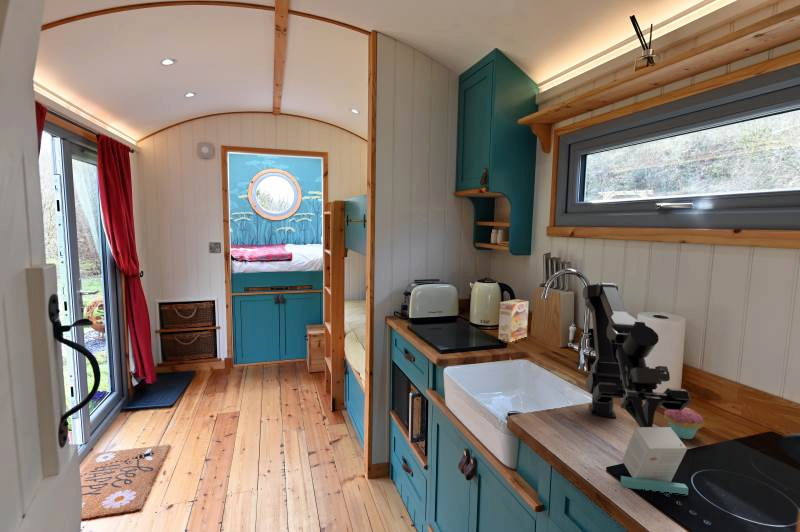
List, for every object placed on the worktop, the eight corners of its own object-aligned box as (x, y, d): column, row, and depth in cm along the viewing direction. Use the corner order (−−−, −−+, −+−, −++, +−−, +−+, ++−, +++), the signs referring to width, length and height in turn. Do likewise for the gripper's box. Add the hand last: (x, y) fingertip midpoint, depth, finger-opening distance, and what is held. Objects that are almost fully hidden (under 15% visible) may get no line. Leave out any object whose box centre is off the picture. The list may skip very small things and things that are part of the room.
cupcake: (684, 444, 101) (688, 398, 100) (654, 428, 109) (657, 385, 108) (710, 440, 104) (714, 395, 103) (679, 425, 112) (682, 382, 111)
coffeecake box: (510, 345, 187) (512, 304, 186) (497, 342, 193) (499, 301, 191) (527, 340, 197) (529, 300, 196) (514, 337, 203) (516, 298, 201)
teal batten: (620, 482, 85) (621, 476, 85) (684, 490, 83) (684, 484, 83) (623, 487, 84) (623, 480, 84) (687, 495, 81) (688, 488, 81)
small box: (655, 459, 91) (671, 426, 86) (671, 482, 86) (688, 448, 81) (620, 459, 90) (634, 426, 86) (634, 483, 85) (649, 448, 81)
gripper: (599, 348, 93) (611, 415, 83) (690, 354, 89) (714, 425, 79) (588, 370, 101) (598, 434, 91) (671, 377, 97) (691, 444, 87)
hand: (648, 434), depth 87 cm, fingers closed
